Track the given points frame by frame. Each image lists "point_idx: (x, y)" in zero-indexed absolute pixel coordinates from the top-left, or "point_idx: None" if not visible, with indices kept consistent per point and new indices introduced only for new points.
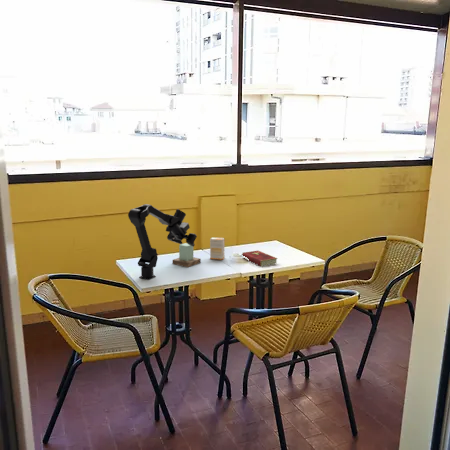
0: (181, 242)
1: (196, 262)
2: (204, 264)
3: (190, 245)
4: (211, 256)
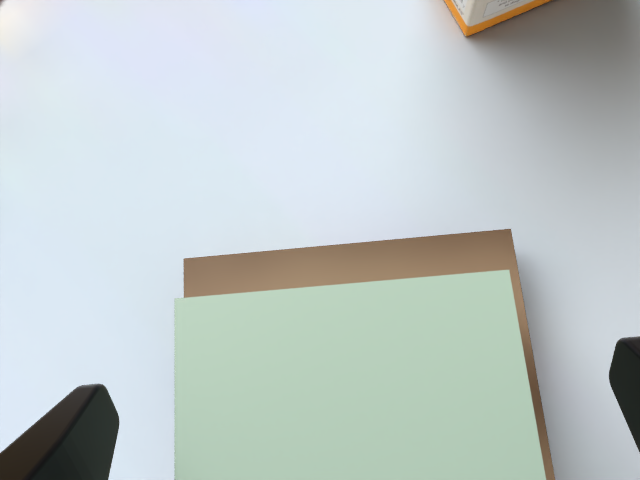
0: (85, 452)
1: None
2: (614, 282)
3: (535, 437)
4: (489, 5)
